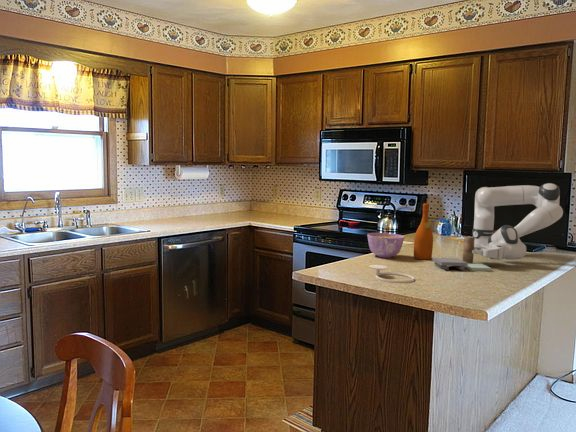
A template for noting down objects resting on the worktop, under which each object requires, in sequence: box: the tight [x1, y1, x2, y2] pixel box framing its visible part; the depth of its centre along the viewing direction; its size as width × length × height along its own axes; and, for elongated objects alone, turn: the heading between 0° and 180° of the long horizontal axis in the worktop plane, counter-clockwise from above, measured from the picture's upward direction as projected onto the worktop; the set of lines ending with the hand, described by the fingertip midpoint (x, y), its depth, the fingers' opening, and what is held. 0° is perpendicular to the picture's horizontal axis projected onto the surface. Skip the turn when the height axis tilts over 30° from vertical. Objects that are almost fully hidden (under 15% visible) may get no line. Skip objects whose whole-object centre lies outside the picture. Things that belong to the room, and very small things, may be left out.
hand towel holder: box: [369, 264, 415, 284], centre depth 216 cm, size 17×4×21 cm
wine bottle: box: [413, 202, 434, 261], centre depth 265 cm, size 10×10×30 cm
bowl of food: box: [366, 232, 405, 259], centre depth 268 cm, size 20×20×12 cm
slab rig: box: [431, 256, 468, 272], centre depth 243 cm, size 13×13×4 cm
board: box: [464, 263, 493, 272], centre depth 244 cm, size 10×10×2 cm
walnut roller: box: [462, 236, 475, 264], centre depth 254 cm, size 5×5×14 cm
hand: (468, 250), depth 254 cm, fingers open, 8 cm apart
